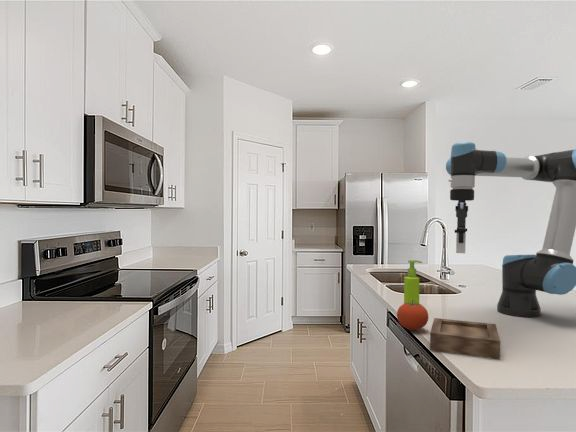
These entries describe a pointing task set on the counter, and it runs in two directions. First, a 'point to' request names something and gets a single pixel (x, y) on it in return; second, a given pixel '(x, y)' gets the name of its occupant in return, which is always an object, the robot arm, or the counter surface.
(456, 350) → the walnut box
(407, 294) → the soap dispenser
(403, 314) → the tomato
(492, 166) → the robot arm
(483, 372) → the counter surface
